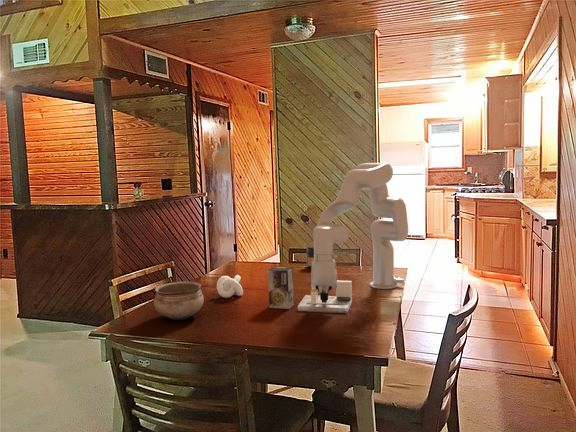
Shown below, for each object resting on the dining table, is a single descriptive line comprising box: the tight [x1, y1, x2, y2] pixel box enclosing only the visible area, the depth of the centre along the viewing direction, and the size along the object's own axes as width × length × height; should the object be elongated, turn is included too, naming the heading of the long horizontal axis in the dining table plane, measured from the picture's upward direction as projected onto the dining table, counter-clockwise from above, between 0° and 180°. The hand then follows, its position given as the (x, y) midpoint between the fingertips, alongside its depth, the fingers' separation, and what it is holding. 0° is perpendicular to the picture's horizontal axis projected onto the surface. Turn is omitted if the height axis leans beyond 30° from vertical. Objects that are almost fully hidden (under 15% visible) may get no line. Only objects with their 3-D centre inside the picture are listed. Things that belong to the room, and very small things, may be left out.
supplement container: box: [305, 244, 314, 270], centre depth 269 cm, size 10×10×12 cm
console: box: [297, 294, 353, 314], centre depth 197 cm, size 20×16×2 cm
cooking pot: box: [153, 281, 205, 321], centre depth 187 cm, size 25×19×12 cm
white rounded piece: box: [216, 274, 244, 299], centre depth 215 cm, size 11×12×9 cm
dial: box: [335, 279, 353, 300], centre depth 199 cm, size 6×6×7 cm
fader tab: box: [310, 287, 319, 304], centre depth 193 cm, size 2×4×6 cm, turn 166°
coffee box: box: [267, 266, 295, 310], centre depth 197 cm, size 9×6×16 cm
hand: (324, 301), depth 192 cm, fingers closed
